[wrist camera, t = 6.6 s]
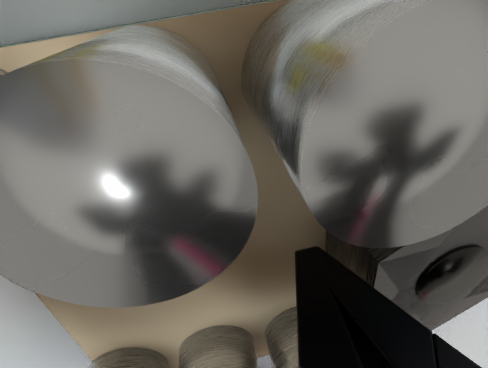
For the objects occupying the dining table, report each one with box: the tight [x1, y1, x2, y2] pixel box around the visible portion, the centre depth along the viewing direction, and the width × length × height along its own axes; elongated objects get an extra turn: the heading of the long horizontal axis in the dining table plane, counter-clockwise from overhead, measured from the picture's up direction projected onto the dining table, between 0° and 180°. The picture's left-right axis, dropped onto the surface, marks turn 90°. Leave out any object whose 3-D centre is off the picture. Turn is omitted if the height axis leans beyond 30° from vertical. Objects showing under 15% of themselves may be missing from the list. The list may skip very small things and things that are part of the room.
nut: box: [325, 205, 488, 331], centre depth 8 cm, size 5×4×3 cm
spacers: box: [0, 0, 488, 368], centre depth 7 cm, size 13×10×4 cm
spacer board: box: [0, 0, 326, 368], centre depth 10 cm, size 13×14×1 cm
